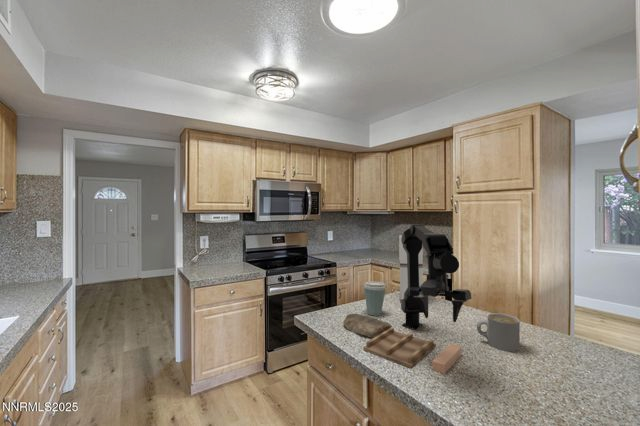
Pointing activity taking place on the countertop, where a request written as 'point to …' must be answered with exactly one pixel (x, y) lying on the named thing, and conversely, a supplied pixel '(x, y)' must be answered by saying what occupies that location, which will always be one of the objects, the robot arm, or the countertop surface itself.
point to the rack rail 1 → (379, 337)
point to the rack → (399, 349)
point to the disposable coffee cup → (374, 297)
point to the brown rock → (365, 325)
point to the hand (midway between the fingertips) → (440, 319)
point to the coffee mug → (501, 331)
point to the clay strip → (447, 358)
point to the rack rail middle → (399, 344)
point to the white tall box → (404, 269)
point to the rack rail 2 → (420, 351)
